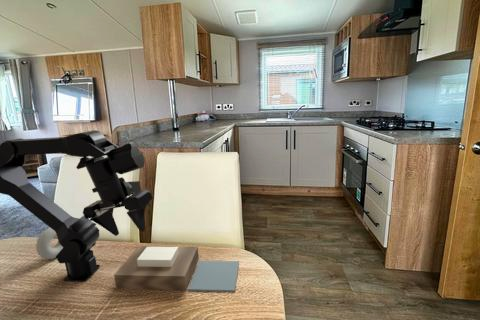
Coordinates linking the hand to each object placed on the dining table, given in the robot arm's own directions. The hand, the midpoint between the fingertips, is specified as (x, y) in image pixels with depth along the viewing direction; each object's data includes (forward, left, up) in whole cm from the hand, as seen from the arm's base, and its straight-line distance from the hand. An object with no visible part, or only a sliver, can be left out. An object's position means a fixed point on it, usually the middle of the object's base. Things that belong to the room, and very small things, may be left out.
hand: (130, 233), depth 68 cm
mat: (+22, -1, -12) cm, 25 cm away
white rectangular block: (+7, 0, -8) cm, 11 cm away
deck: (+7, 0, -12) cm, 14 cm away
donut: (-29, +7, -12) cm, 32 cm away
